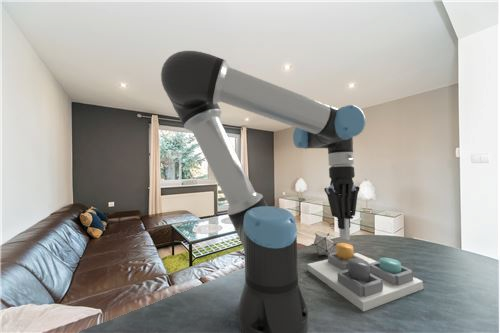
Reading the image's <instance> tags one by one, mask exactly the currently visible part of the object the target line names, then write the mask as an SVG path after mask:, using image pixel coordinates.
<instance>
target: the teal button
mask: <svg viewBox="0 0 500 333" xmlns="http://www.w3.org/2000/svg"><path fill="white" fill-rule="evenodd" d="M378 261H379V267H380V268H381V269H383V270H385V271H387V272H390V273H392V274H394V275H395V274H398V273H401V266H402V263H401V262H400V261H399V260H397V259H395V258H391V257H380V258H379V259H378Z"/></svg>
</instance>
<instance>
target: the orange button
mask: <svg viewBox="0 0 500 333" xmlns="http://www.w3.org/2000/svg"><path fill="white" fill-rule="evenodd" d="M335 244H336V245H335V250H336V251H335V253H336V254H337V257H338V258H340V259H343V260H348V259H350V258H354V253H355V252H354V246H353V245H352V244H350V243H346V242H338V243H335Z"/></svg>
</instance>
